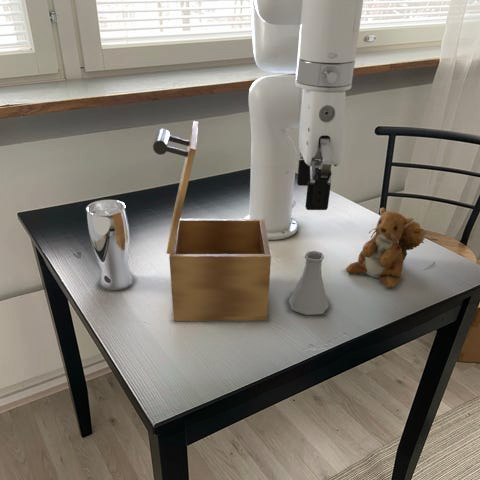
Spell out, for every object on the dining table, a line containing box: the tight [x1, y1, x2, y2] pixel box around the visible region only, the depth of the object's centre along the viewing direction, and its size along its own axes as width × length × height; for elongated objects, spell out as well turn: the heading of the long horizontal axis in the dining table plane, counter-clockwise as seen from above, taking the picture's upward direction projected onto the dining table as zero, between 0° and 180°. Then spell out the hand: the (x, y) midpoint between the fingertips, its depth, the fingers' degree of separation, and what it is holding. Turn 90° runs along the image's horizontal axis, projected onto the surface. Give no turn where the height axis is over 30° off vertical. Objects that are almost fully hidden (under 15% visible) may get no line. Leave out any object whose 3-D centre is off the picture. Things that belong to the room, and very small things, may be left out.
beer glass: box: [85, 199, 134, 291], centre depth 89 cm, size 7×7×15 cm
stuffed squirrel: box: [345, 207, 426, 289], centre depth 95 cm, size 10×14×13 cm
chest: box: [168, 218, 272, 322], centre depth 86 cm, size 16×14×12 cm
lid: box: [152, 120, 200, 255], centre depth 77 cm, size 17×14×6 cm
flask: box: [288, 250, 330, 316], centre depth 86 cm, size 7×7×10 cm
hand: (311, 196), depth 77 cm, fingers open, 9 cm apart
